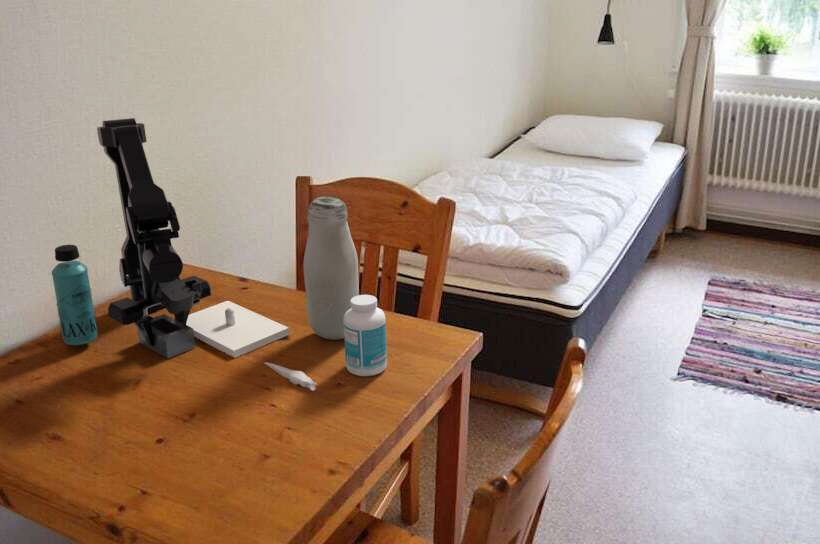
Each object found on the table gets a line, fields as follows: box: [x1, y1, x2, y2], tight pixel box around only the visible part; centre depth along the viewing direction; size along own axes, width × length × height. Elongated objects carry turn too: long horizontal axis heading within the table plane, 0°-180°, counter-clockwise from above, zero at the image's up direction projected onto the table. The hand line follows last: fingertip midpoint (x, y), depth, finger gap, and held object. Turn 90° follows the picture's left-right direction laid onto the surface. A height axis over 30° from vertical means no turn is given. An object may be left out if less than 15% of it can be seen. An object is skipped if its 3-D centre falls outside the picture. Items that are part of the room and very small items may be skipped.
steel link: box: [136, 313, 196, 359], centre depth 154 cm, size 10×6×4 cm, turn 48°
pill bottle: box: [343, 294, 388, 377], centre depth 144 cm, size 8×7×14 cm
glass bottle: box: [303, 196, 360, 341], centre depth 153 cm, size 10×10×28 cm
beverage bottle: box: [51, 244, 99, 346], centre depth 152 cm, size 6×7×20 cm
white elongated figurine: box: [263, 362, 318, 392], centre depth 143 cm, size 15×3×2 cm, turn 46°
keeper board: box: [186, 300, 290, 359], centre depth 160 cm, size 20×13×5 cm, turn 48°
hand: (166, 340), depth 155 cm, fingers closed on steel link, 6 cm apart
